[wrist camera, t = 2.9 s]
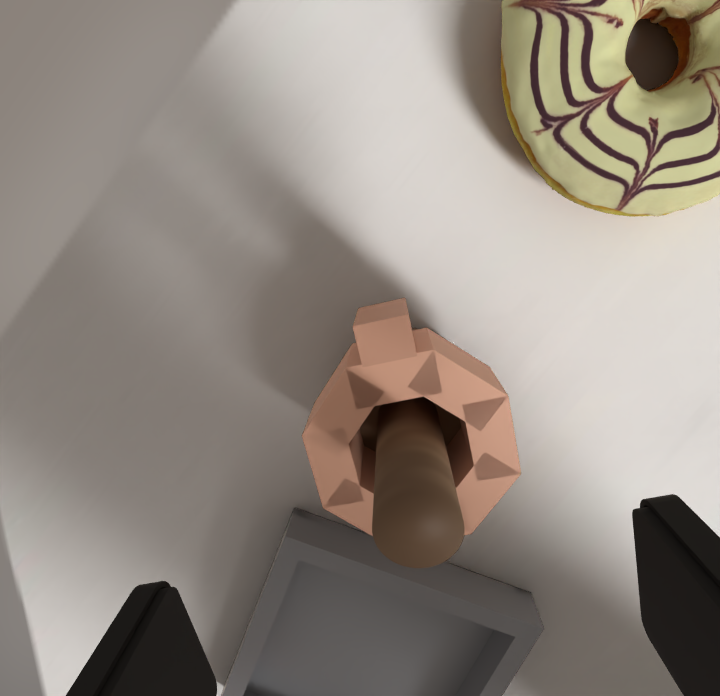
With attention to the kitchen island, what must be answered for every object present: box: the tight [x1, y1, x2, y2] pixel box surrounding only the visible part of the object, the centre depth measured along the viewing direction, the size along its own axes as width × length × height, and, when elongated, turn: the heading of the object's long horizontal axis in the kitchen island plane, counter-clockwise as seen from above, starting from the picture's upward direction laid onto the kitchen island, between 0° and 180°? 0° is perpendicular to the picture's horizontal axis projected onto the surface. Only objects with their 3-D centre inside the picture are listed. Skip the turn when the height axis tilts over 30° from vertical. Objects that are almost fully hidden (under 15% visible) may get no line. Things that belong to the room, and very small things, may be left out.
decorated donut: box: [501, 0, 720, 216], centre depth 16 cm, size 10×11×4 cm
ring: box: [302, 298, 521, 536], centre depth 18 cm, size 7×8×3 cm
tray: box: [221, 508, 544, 696], centre depth 25 cm, size 13×13×2 cm
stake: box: [360, 328, 465, 568], centre depth 17 cm, size 6×6×10 cm
